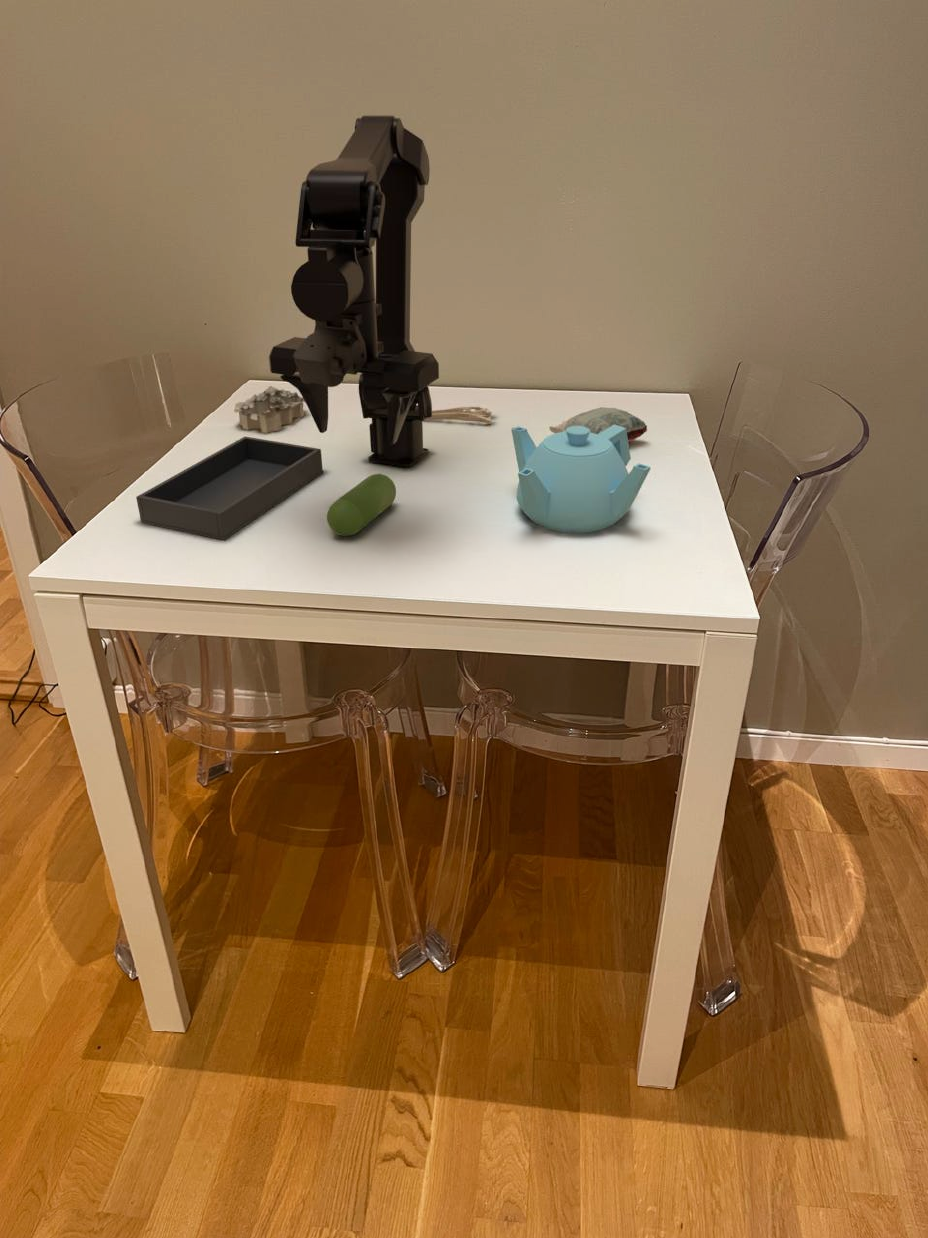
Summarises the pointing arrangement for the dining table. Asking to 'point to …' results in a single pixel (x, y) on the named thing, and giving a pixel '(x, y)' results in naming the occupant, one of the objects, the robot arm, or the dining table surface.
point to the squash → (361, 504)
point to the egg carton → (270, 409)
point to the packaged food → (605, 422)
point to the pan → (230, 487)
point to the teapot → (576, 478)
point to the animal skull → (463, 414)
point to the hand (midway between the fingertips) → (357, 437)
